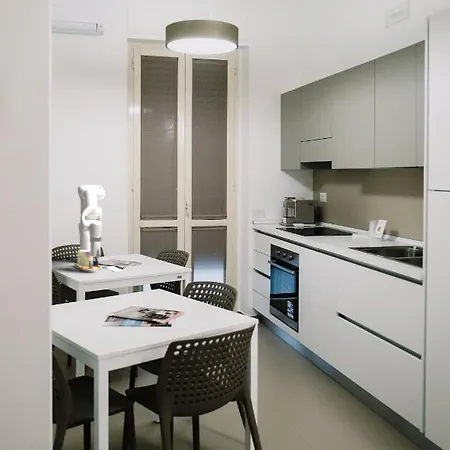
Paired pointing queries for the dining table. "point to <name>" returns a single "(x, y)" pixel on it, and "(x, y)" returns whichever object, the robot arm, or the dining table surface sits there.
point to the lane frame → (88, 266)
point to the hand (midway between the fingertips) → (95, 266)
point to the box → (84, 257)
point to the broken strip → (114, 269)
